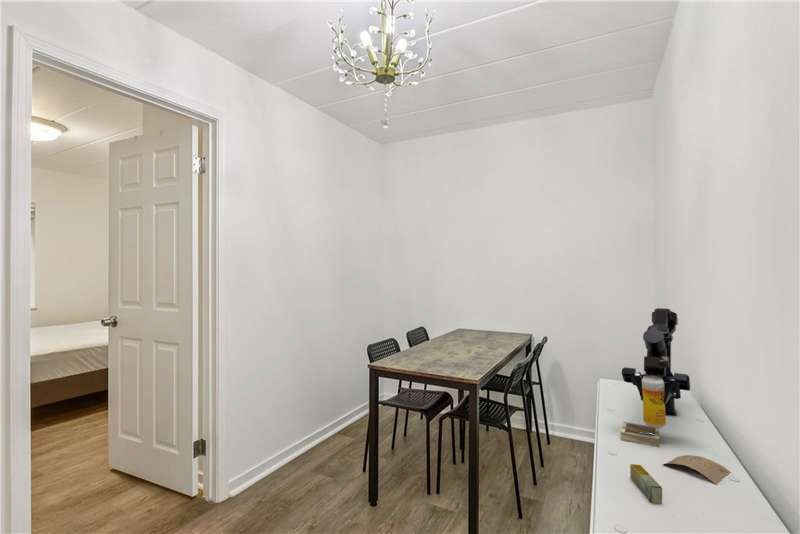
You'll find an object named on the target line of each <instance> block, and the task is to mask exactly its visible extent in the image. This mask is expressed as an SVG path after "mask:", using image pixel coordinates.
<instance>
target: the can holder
mask: <svg viewBox="0 0 800 534" xmlns="http://www.w3.org/2000/svg"><path fill="white" fill-rule="evenodd" d="M628 431H629V432H628ZM638 432H642V433H641V434H640V433H639V434H638ZM644 433H652V434H655V435H654V436H652V435H651V436H650V435H646V434H645V435H644ZM620 441H623V442H624V441H625V442H629V443H634V444H640V445H645V444H646V446H650V445H654V446H653V447H656V446H659V447H660V427H652V426H649V425H647V424H646V425H645V424H640V423H633V422H632V423H631V422H625V421H623V423H622V426H621V430H620Z"/></svg>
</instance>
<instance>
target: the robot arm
mask: <svg viewBox="0 0 800 534" xmlns="http://www.w3.org/2000/svg"><path fill="white" fill-rule="evenodd" d="M651 322H652V325H651V324H650V326H647V329H646V331H645V332H644V333H643V336H642V338H643V342H644V345H645V349H646V356H644V358H643V371H644V373H642V372H640V371H637V369H636V367H635V368H634V367H628V366H627V367H626V366H624V367H622V369H621V376H622V379H623V381H624V382H625V383H628V384H629V383H631V384H632V385H633V386H636V388H637V391H638V393H639V396H640V400H641V401H643V394H642V379H643V377H644V376H656V377H660V378H662V379H663V381H664V391H665V397H664V404H665V415H669V416H677V409H676V408H675V405H676V404H675V402H676V401H675V400H679V399H681V398H682V397H681V396H682V395H681V391H691V380H690V376H689V375H688V374H686V373H677V372H674V373H672V342H673V340H674V337H673V334H674V333H675V332H676V330H677V326H678V325H679V317H678V314H677V313H676V312H674V311H672V310H671V309H670V308H660V307H659V308H655V309H654V311H652V312H651Z"/></svg>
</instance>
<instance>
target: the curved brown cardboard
mask: <svg viewBox="0 0 800 534" xmlns="http://www.w3.org/2000/svg"><path fill="white" fill-rule="evenodd" d="M671 460H672V461H671ZM671 460H669V461H670V462H669V461H668V463H667V462H666V463H665V465H668V464H669V465H670V464H675V465H680V466H686V467H688V468H689V469H692V470H695V471H697V472H699V473H700V474H701V475H703V476H705V477H706V478H708V480H710V481H712V483H714V484H715V485H718V484H719V483H720V481H721V480H722V479H723V478H725V477H726V476H728V475H729V474H730V473H732V472H731V471H730V470H729V469H728V468H726V467H725V466H723V465H722V464H720V463H718V462H716V461H714V460H711V459H709V458H706V457H703V456H699V455H693V454H686V455H685V454H684V455H679V456H677V457H675V458H674V459H671ZM725 479H726V478H725ZM722 481H723V480H722ZM722 481H721V482H722Z"/></svg>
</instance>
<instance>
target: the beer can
mask: <svg viewBox="0 0 800 534" xmlns="http://www.w3.org/2000/svg"><path fill="white" fill-rule="evenodd" d="M642 394H643V400H642V413H643V417H642V419H643V422H644V423H645V424H646V426H652V427H658V428H663V427H664V426H665V425H666V424H667V423H666V421H667V420H666V417H667V416H666V414H665V404H664V397H665V391H664V381H663V379H662V378H660V377H656V376H644V377H643V379H642Z"/></svg>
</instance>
